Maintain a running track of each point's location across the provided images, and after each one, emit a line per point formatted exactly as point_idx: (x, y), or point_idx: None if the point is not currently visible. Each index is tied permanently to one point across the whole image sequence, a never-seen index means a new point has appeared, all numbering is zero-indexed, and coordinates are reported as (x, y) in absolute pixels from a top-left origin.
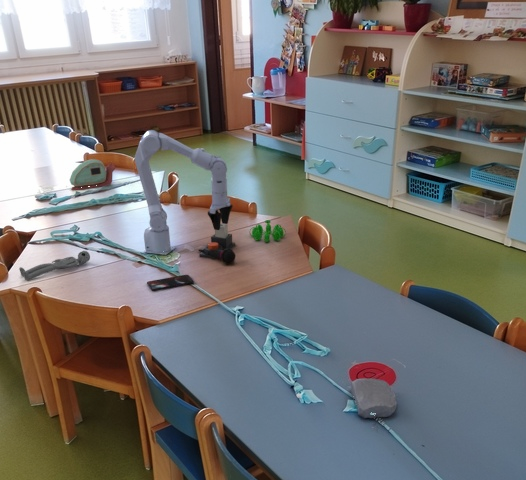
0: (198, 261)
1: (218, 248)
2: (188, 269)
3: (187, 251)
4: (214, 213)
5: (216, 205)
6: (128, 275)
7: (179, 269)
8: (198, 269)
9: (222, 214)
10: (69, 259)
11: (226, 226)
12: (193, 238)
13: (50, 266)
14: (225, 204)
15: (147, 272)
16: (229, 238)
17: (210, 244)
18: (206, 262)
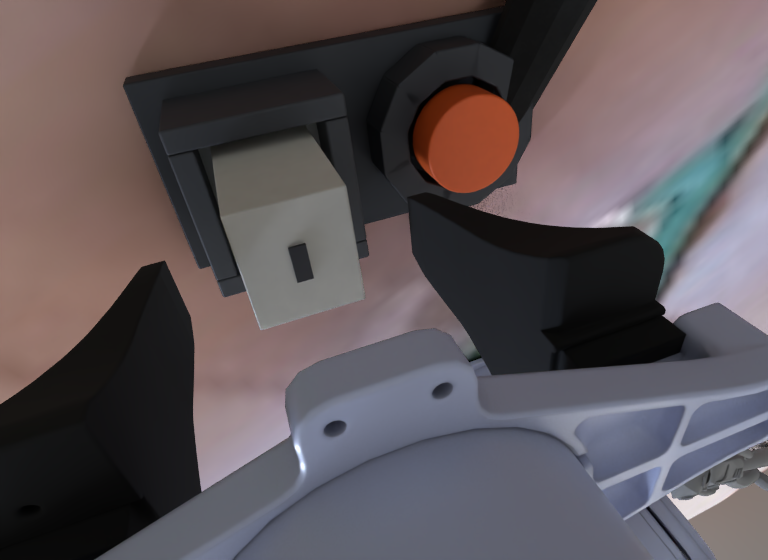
0: (572, 131)
1: (468, 73)
2: (696, 100)
3: (442, 300)
4: (721, 306)
5: (598, 486)
6: (757, 287)
7: (697, 148)
8: (695, 38)
9: (181, 406)
10: (722, 474)
11: (261, 200)
12: (231, 423)
13: (757, 465)
14: (470, 432)
15: (731, 252)
16: (243, 105)
17: (493, 157)
18: (578, 67)
